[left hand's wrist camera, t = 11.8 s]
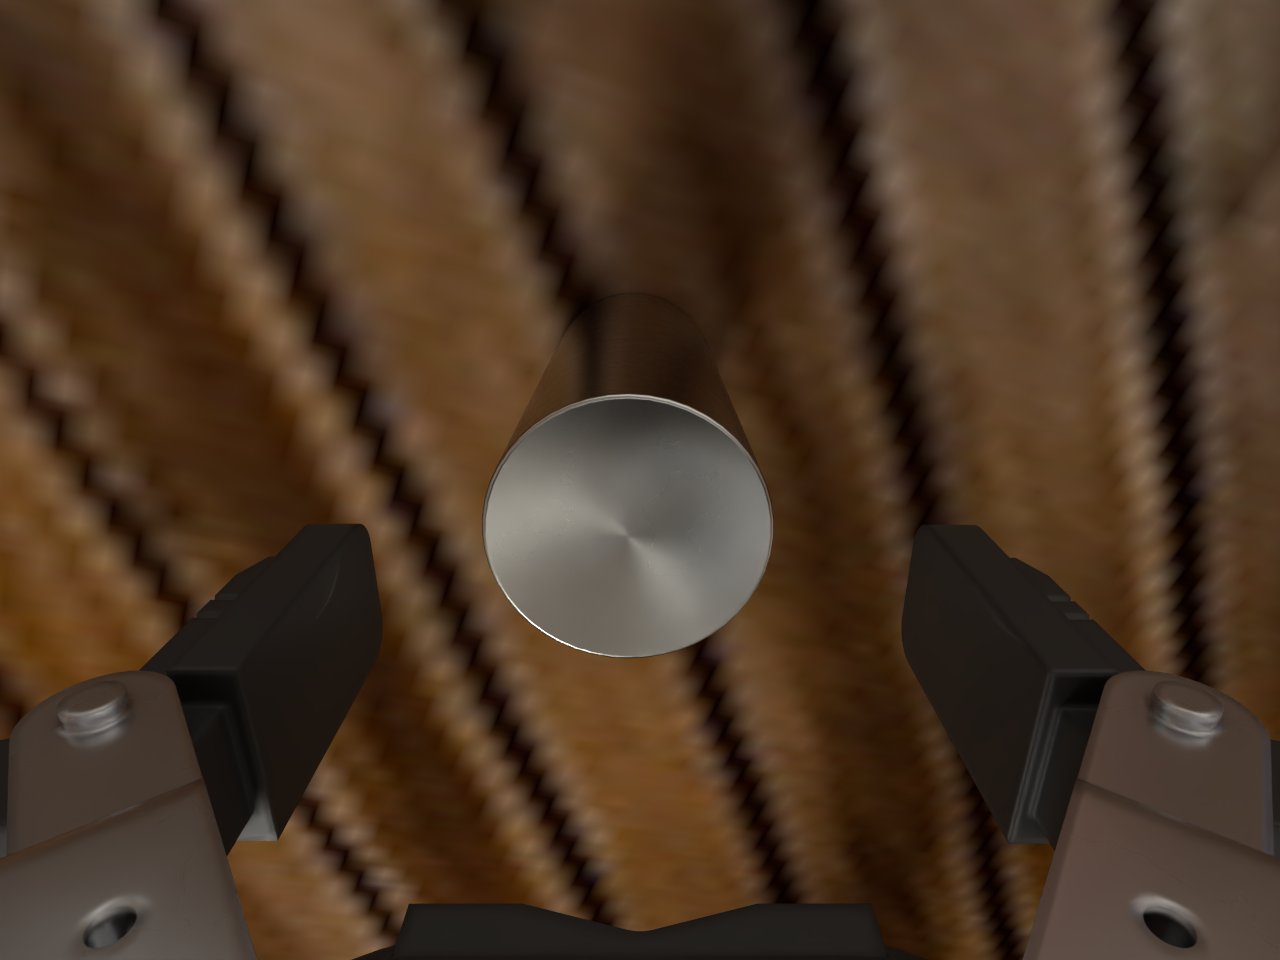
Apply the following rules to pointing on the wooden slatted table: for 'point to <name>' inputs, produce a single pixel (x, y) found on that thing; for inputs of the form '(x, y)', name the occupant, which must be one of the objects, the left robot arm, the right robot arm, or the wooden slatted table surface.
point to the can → (629, 489)
